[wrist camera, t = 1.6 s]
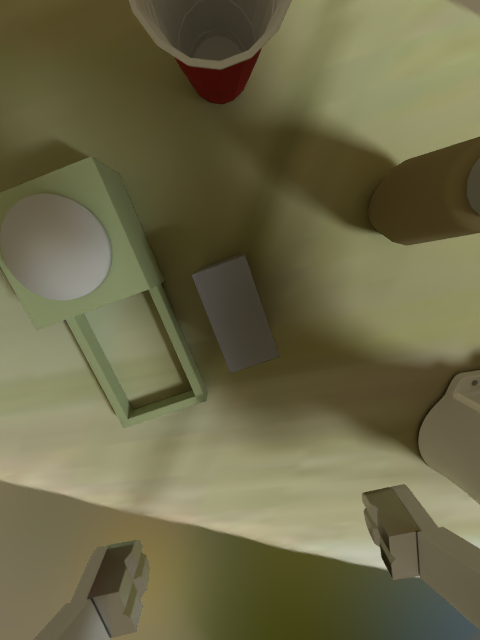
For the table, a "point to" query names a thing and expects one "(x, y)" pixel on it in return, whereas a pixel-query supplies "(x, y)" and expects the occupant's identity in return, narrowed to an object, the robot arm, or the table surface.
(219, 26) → the plastic cup
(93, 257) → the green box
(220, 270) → the tall grey box
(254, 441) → the table surface
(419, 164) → the squeeze bottle
